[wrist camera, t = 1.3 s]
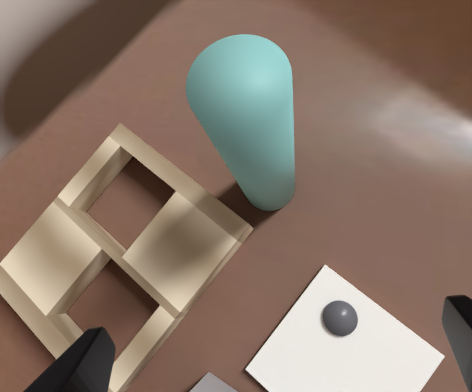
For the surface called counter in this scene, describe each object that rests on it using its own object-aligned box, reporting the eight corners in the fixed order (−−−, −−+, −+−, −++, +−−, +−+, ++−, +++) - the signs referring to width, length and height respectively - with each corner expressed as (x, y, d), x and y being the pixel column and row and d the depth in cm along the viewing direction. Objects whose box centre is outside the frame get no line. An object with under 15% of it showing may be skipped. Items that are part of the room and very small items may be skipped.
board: (118, 400, 22) (101, 412, 20) (10, 278, 25) (-13, 278, 23) (253, 229, 23) (249, 224, 21) (132, 134, 26) (120, 122, 24)
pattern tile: (358, 472, 19) (360, 479, 18) (246, 367, 21) (244, 370, 20) (441, 354, 19) (446, 357, 19) (324, 264, 22) (325, 264, 21)
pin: (273, 221, 23) (245, 151, 10) (234, 191, 24) (165, 94, 11) (305, 180, 23) (314, 66, 11) (265, 152, 24) (230, 17, 12)
